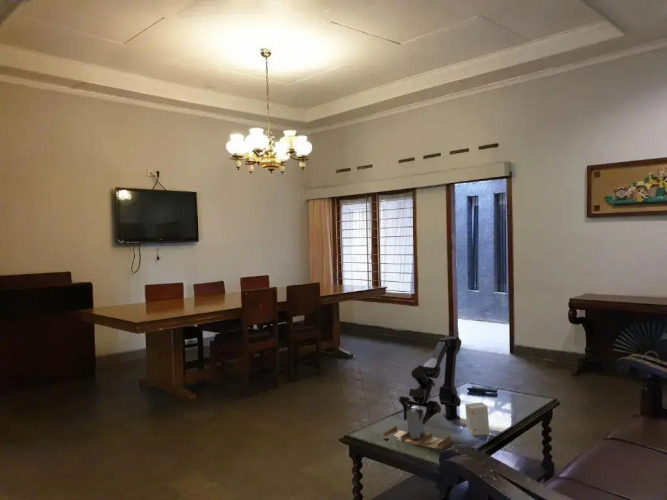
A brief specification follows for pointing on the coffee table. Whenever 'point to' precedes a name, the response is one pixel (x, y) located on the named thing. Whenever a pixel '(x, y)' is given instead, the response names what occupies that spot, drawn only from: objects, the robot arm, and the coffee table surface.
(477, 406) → the small box
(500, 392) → the coffee table surface
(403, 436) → the slot rack
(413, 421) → the block
